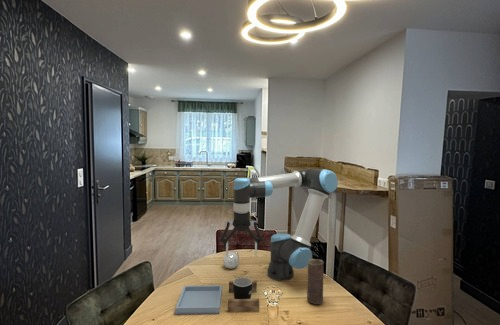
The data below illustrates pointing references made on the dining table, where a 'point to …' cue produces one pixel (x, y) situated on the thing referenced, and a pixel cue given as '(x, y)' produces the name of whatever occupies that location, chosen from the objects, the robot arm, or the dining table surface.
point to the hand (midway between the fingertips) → (241, 255)
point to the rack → (243, 301)
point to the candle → (315, 281)
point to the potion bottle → (231, 260)
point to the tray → (199, 300)
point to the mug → (242, 288)
